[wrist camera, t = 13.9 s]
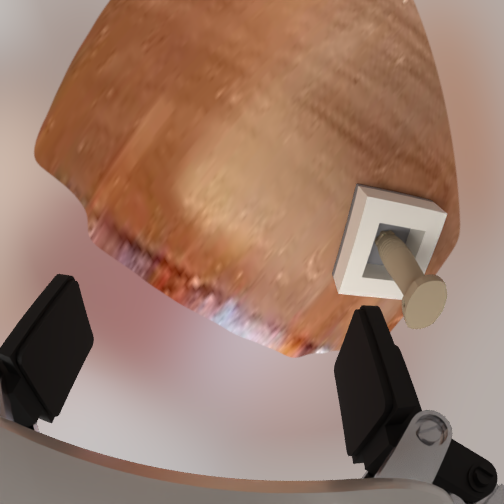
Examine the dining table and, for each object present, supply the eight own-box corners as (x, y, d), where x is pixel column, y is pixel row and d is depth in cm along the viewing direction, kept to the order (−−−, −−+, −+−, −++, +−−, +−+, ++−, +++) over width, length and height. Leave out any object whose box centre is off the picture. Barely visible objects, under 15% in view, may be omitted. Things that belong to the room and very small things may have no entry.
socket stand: (356, 183, 40) (367, 196, 36) (431, 200, 40) (447, 213, 36) (332, 273, 47) (338, 293, 42) (401, 281, 47) (412, 300, 43)
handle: (402, 217, 41) (452, 278, 28) (397, 257, 44) (437, 325, 31) (370, 218, 41) (412, 283, 28) (366, 259, 44) (400, 331, 31)
